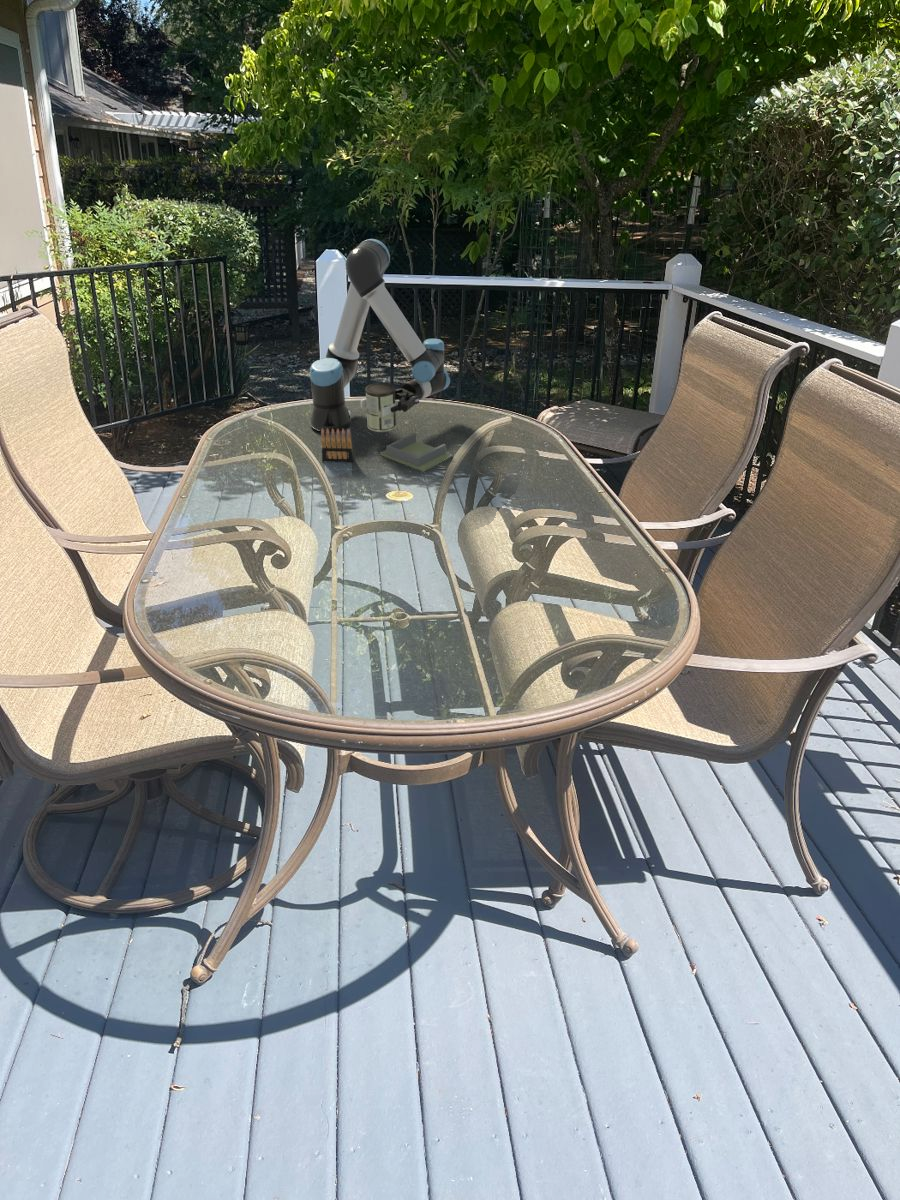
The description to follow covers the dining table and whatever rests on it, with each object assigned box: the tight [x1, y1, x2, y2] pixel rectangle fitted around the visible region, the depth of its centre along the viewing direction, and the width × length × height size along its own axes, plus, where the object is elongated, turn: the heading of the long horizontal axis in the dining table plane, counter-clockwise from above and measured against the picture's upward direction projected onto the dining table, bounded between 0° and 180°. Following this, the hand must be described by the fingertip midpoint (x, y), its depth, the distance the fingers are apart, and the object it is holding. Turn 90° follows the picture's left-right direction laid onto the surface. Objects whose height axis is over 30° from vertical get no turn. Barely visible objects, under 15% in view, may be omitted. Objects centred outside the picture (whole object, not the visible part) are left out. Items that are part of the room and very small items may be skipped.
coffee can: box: [364, 382, 397, 433], centre depth 306 cm, size 10×10×14 cm
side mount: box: [379, 432, 449, 473], centre depth 303 cm, size 20×15×4 cm
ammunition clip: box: [320, 428, 355, 463], centre depth 298 cm, size 11×2×12 cm, turn 87°
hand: (372, 408), depth 303 cm, fingers closed on coffee can, 10 cm apart
